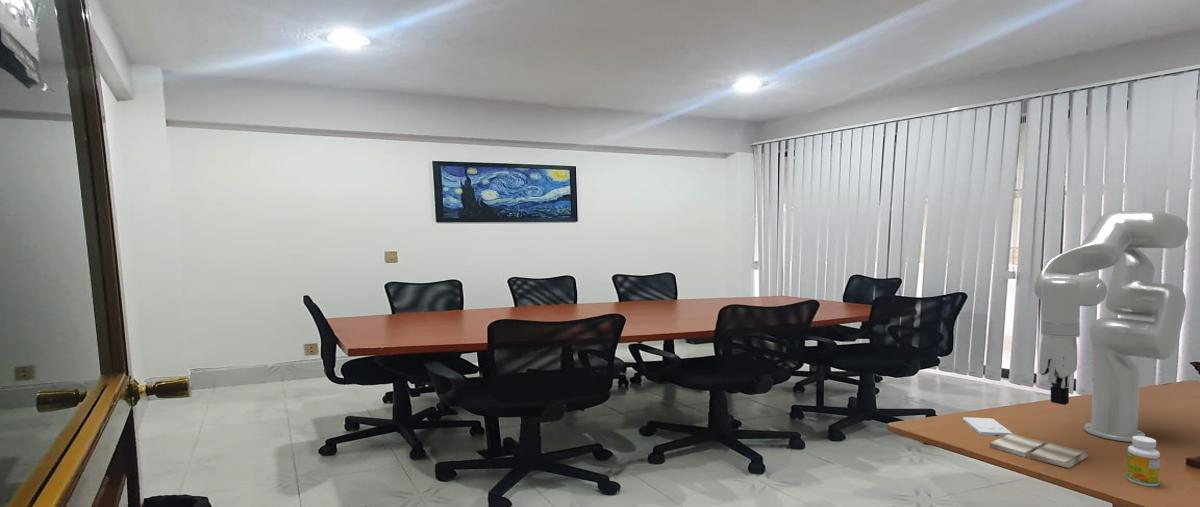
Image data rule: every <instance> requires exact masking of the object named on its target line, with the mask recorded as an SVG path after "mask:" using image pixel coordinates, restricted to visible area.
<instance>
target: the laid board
mask: <svg viewBox="0 0 1200 507" xmlns="http://www.w3.org/2000/svg"><path fill="white" fill-rule="evenodd" d="M1045 445H1046V441H1043V440H1039V439H1034V438H1032V437H1027V436H1022V435H1019V434H1016V433H1013V434H1011V433H1010V434H1008V435H1006V436H1001V437H999V438H997V439H995V440H994V441H991V442H989V448H990V449H993V450H998V451H1001V452H1005V453H1008V454H1012V455H1016V456H1019V457H1022V458H1027V459H1030V453H1032V452H1034V451H1035V450H1037V449H1039V448H1041V447H1043V446H1045Z"/></svg>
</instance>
